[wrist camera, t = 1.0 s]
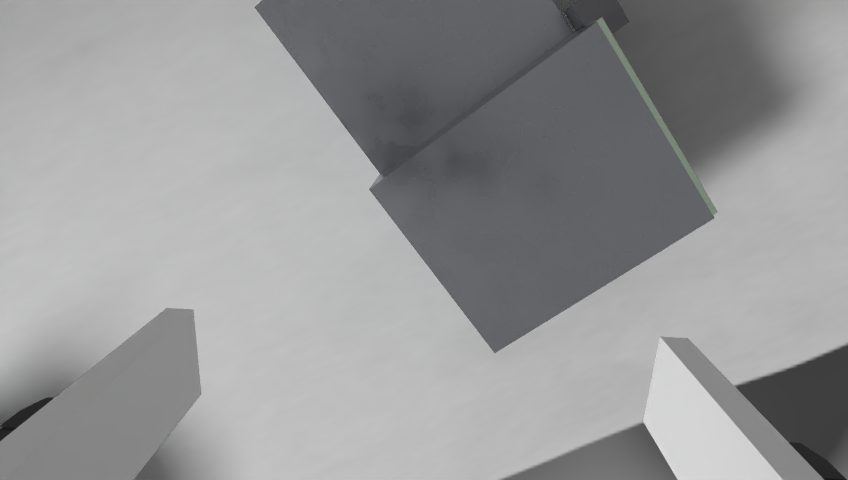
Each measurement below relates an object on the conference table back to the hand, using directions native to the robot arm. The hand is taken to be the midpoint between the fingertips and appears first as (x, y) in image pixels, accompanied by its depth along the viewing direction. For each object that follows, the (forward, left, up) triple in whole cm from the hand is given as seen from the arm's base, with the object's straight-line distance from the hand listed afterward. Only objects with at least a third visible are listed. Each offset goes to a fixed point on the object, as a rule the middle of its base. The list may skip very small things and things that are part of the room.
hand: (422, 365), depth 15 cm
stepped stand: (-4, +7, -24) cm, 25 cm away
